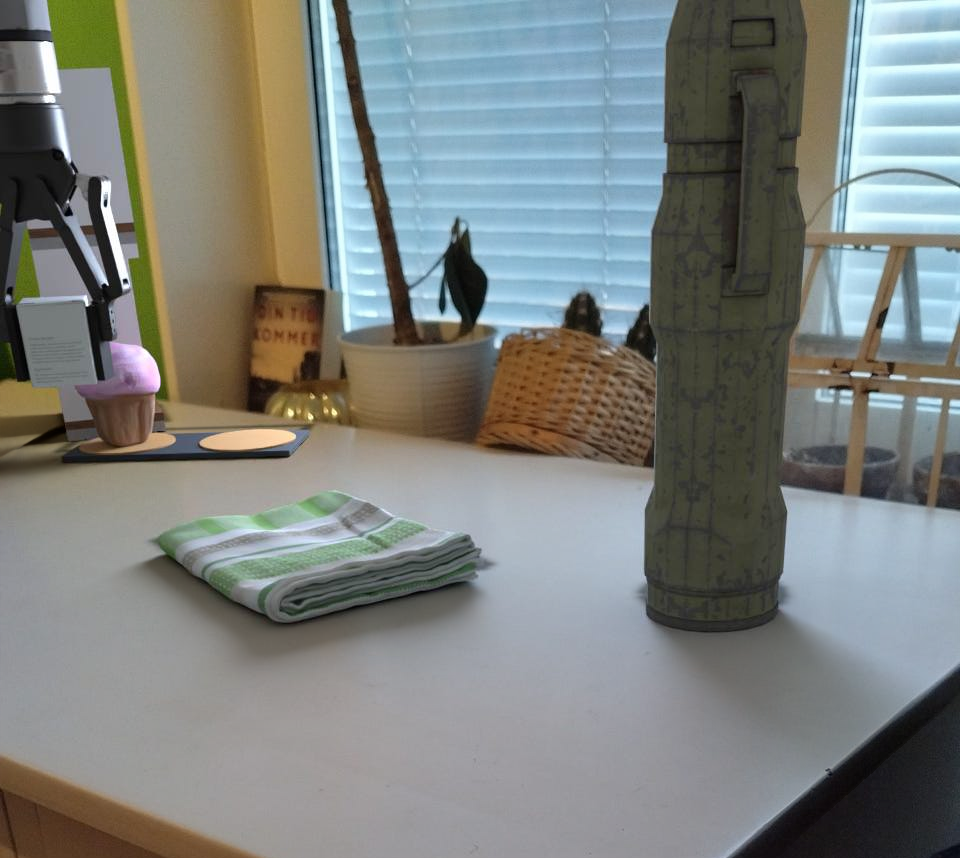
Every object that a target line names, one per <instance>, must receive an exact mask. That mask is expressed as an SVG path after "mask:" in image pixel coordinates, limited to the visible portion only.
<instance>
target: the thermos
mask: <svg viewBox="0 0 960 858" xmlns="http://www.w3.org/2000/svg"><path fill="white" fill-rule="evenodd" d="M804 15H805V14H804V12H803V6H802V1H801V0H677V1H676V4H675V7H674V11H673V15H672V18H671V21H670V25H669V28H668V32H667V36H666V40H665V43H664V75H663V77H664V81H663V82H664V83H663V125H662V126H663V127H662V143H663V144H666V145H665V146H666V147H665V148H666V150H665V172H662V174H661V196H660V199H659V203H658V204H657V209H656V212H655V214H654V218H653V222H652V224H651V228H650V243H649V244H650V247H649V248H650V249H649V250H650V251H649V303H648V305H649V307H648V309H649V310H648V323H649V326H650V329H651V331H652V334H653V337H654V340H655V342H656V347H655V348H656V351H655V352H656V353H655V354H656V355H655V357H656V358H655V397H654V398H655V399H654V400H655V402H654V446H653V447H654V448H653V449H654V452H653V453H654V454H653V456H654V457H653V486H652V489H651V491H650V494H649V496H648V500H647V502H646V504H645V507H644V525H643V526H644V528H643V529H644V530H643V531H644V532H643V533H644V534H643V574H644V576H645V579H646V597H645V606H644V607H645V614H646V616H648V617H649V618H650V619H651V620H653V621H655V622H657V623H659V624H661V625H663V626H666V627H671V628H676V629H680V630H686V631H695V632H706V631H707V632H732V631H739V630H747V629H750V628H755V627H758V626H762V625H764V624H766V623H767V622H770V621H771V620H773V619H775V617H776V616H777V614H778V612H779V600H778V599H779V587H780V586H779V584H780V580H781V577H782V575H783V574H784V566H785V553H786V550H785V549H786V539H787V538H786V537H787V526H788V525H787V524H788V523H787V522H788V509H787V505H786V502H785V498H784V495H783V492H782V487H781V481H782V480H781V479H782V464H783V448H784V435H785V420H786V419H785V418H786V404H787V389H788V375H789V374H788V373H789V359H790V346H791V345H790V344H791V339H792V337H793V334H794V332H795V331H796V328H797V326H798V324H799V321H800V319H801V318H800V317H801V305H802V303H801V302H802V292H803V291H802V290H803V289H802V288H803V274H804V261H805V246H806V231H807V224H806V220H805V216H804V210H803V207H802V201H801V198H800V194H799V193H800V192H799V190H798V188H799V172H800V168H799V167H797V166H796V161H797V146H798V137H802V126H803V124H802V123H803V111H804V110H803V108H804V93H805V77H806V64H807V63H806V62H807V49H808V31H807V27H806V21H805V16H804Z"/></svg>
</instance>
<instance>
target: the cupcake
mask: <svg viewBox="0 0 960 858" xmlns="http://www.w3.org/2000/svg"><path fill="white" fill-rule="evenodd" d="M110 349H111V355H112V362H113V368H114V374H115V376H113V377H111V378H109V379H108V380H106V381H97V384H90V385H75V386H74V387H75V389H76V390H77V392H78V393H79V394H80V396H81V397H85V400H86V403H87V406H88V408H89V410H90V413H91V415H92V417H93V420H94V423H95V427H96V430H97V432H98V435H99V437H100V438H101V439H102V440H103V441H105V442H107V443H110V444H112V445H114V446H119V447H125V446H130V445H134V444H137V443H140V442H145V441H146V440H147V439H148V438H149V437H150V435H151V432H152V427H153V421H154V412H155V408H154V407H155V399H156V393H157V392H159V390H160V387H161V376H160V372H159V368H158V365H157V362H156V360H155V359H154V357H153V356H152V354H150V353H149V352H148V350H147V349H145V348H144V347H143V346H142V347H140V346H137V345H127V344H119V343H114V342H110Z"/></svg>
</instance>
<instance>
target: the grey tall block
mask: <svg viewBox="0 0 960 858" xmlns="http://www.w3.org/2000/svg"><path fill="white" fill-rule="evenodd" d="M58 73H59V79H60V85H61V91H62V93H61V94H60V95H59V96H55V98H56V104H61V107H62V108H64V111H65V117H66V123H67V130H68V136H69V142H70V151H71V158H72V160H73V163H74V164H75V166H76V167H77V169H78V171H79V173H83V174H87V175H92V176H102V175H105V176H107V177H108V178H109V179H110V182H111V191H110V207H111V211H112V215H113V219H114V223H115V226H116V230H117V234H118V238H119V242H120V246H121V249H122V253H123V257H124V261H125V265H126V269H127V273H128V276H129V280H130V284H131V291H130V292H129V293H128V294H126V295H124V296H121V297H119V298H117V299H116V300H115V301H114V313H115V319H116V327H117V332H118V334H117V339H116V340H113V341H109V342H114V343H119V344H127V345H137V346H140V347H142V348H143V343H142V337H141V332H140V331H141V330H140V326H139V320H138V312H137V307H136V301H135V300H136V299H135V294H134V287H133V282H132V275H131V269H130V268H131V267H130V263H129V259H139V258H140V255H139V248H138V241H137V240H138V239H137V236H136V235H137V234H136V227H135V221H134V215H133V209H132V203H131V196H130V195H131V194H130V190H129V189H130V188H129V183H128V177H127V171H126V164H125V158H124V151H123V144H122V138H121V131H120V125H119V119H118V111H117V105H116V100H115V92H114V86H113V81H112V72H111V68H110V67H92V68H91V67H90V68H89V67H88V68H63V69H58ZM70 204H71V206H72V208H73V210H74V212H75V214H76V216H77V218H78V220H79V226H80V228H81V230H82V232H83V234H84V236H85V238H86V240H87V242H88V244H89V246H90V248H91V250H92V252H93V254H94V256H95V258H96V260H97V262H98V264H99V266H100V268H101V270H102V272H103V274H104V276H105V278H106V280H107V277H106V273H105V270H104V266H103V262H102V258H101V255H100V251H99V247H98V243H97V240H96V236H95V232H94V229H93V225H92V221H91V217H90V213H89V209H88V201H86V200H85V199H84V198H83V196H82V191H81V189H80V188H79V187H78V186H77V189H76V191H75V193H74V195H73V197H72V200H71V202H70ZM26 230H27V233H28V239H29V245H30V250H31V255H32V260H33V265H34V271H35V276H36V281H37V286H38V287H37V288H38V292H39V297H59V296H80V295H86V296H87V301H88V306H89V305H91V301H93V300H92V298H91V296H90V294H89V292H88V290H87V288H86V286H85V284H84V282H83V280H82V278H81V276H80V274H79V272H78V270H77V268H76V266H75V264H74V262H73V260H72V258H71V257H70V255H69V253H68V251H67V249H66V247H65V245H64V243H63V241H62V239H61V237H60V235H59V233H58V232H57V231H56V230H55V229H54V227H53V226H52V224H51V222H50V221H42V220H38V219H35V220H30V221H27V226H26ZM107 282H108V281H107ZM57 391H58V397H59V402H60V407H61V412H62V416H63V417H62V418H63V420H64V422H63V423H64V427H65V431H66V432H65V433H66V437H67V441H68V442H75V441H86V440H85V439H87V440H88V439H90V438H91V437H93V436H99V435H98V432H97V430H96V427H95V423H94V420H93V417H92V415H91V413H90V410H89V408H88V406H87V403H86V400H85V397H81V396H80V394H79V393H78V392H77V390H76V389H75V387H74V386H61V387H57ZM154 408H155V412H154V421H153V427H152V432H154V433H158V432H157V431H164V432H167V429H166V421H165V416H164V415H165V414H164V411H163V409H162V408H161V406H160V404H159V403H158V401H157V400H156V398H155V407H154Z"/></svg>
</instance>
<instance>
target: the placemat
mask: <svg viewBox="0 0 960 858" xmlns="http://www.w3.org/2000/svg"><path fill="white" fill-rule="evenodd" d="M309 436H310V430H309V429H292V430H291V429H289V430H285V429H273V428H258V429H257V428H255V429H253V428H252V429H241V430H234V431H220V432H219V431H217V432H216V431H215V432H214V431H213V432H184V433H183V432H182V433H177V432H176V433H164V432H154V433H151V435H150V437H149V438H148V439H147V440H146V441H145V442H140V443H137V444H134V445H130V446H125V447H119V446H114V445H112V444H110V443H107V442H105V441H103V440H102V439H101V438H100V437H99V436H93V437H91V438H90V439H87V440H84V441H83V442H81V443H80V444H79V445H76V446H74V448H72V449H70V450H69V451H67V452H65V453H64V454H62V455H61V456H60V461H61V463H86V462H87V463H88V462H89V463H90V462H122V461H123V462H125V461H157V460H158V461H159V460H160V461H165V460H166V461H167V460H168V461H169V460H199V459H200V460H201V458H207V459H229V458H228V457H231V458H230V459H234V458H233V457H238V458H237V459H240V458H239V457H246V458H266V457H265V456H284V457H291V456H292V454H294V452H295V451H296V450H298V449H299V447H300V446H301V445H302V444H303V443H304V442H305V441H306V440H307V439H308V438H309ZM306 438H307V439H306ZM305 439H306V440H305ZM304 440H305V441H304ZM303 441H304V442H303ZM302 442H303V443H302ZM301 443H302V444H301ZM300 444H301V445H300ZM299 445H300V446H299ZM290 455H291V456H290Z"/></svg>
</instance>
